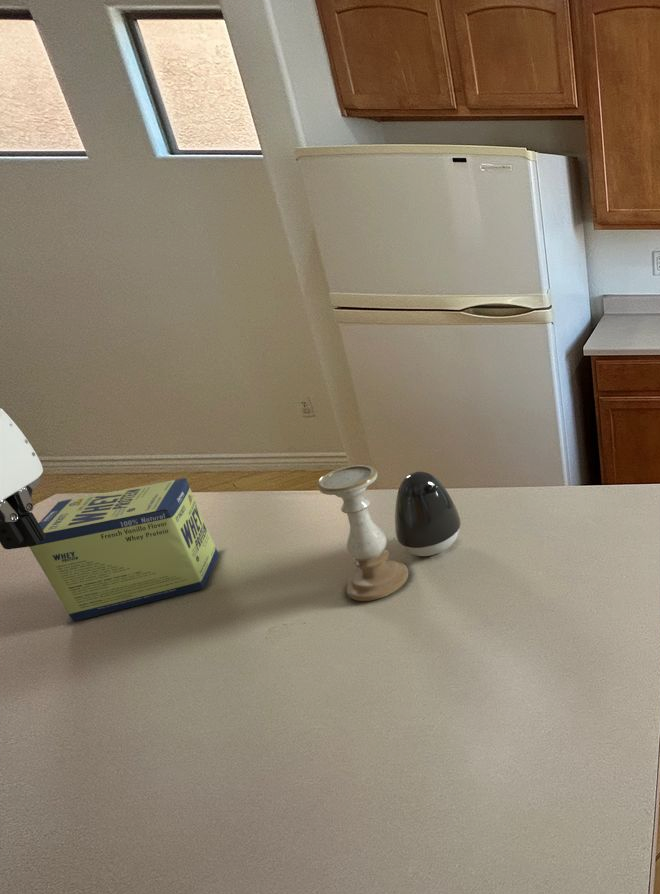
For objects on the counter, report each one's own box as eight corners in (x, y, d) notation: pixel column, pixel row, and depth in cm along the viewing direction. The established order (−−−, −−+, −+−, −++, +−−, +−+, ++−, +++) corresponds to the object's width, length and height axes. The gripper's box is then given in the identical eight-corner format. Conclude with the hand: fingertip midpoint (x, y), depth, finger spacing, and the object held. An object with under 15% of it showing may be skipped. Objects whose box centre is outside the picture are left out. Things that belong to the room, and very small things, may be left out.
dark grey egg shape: (424, 572, 93) (404, 496, 87) (389, 551, 98) (368, 478, 92) (476, 541, 101) (462, 469, 95) (442, 523, 106) (426, 453, 100)
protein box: (206, 588, 89) (169, 507, 83) (71, 623, 82) (18, 537, 76) (221, 552, 97) (188, 476, 91) (99, 581, 90) (54, 501, 84)
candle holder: (338, 605, 86) (300, 494, 78) (360, 568, 94) (327, 464, 86) (399, 598, 88) (368, 489, 79) (415, 562, 95) (389, 460, 87)
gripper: (-38, 391, 68) (36, 516, 75) (-178, 444, 55) (-71, 589, 62) (40, 385, 70) (104, 507, 77) (-78, 435, 57) (14, 576, 64)
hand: (26, 543), depth 70 cm, fingers closed
